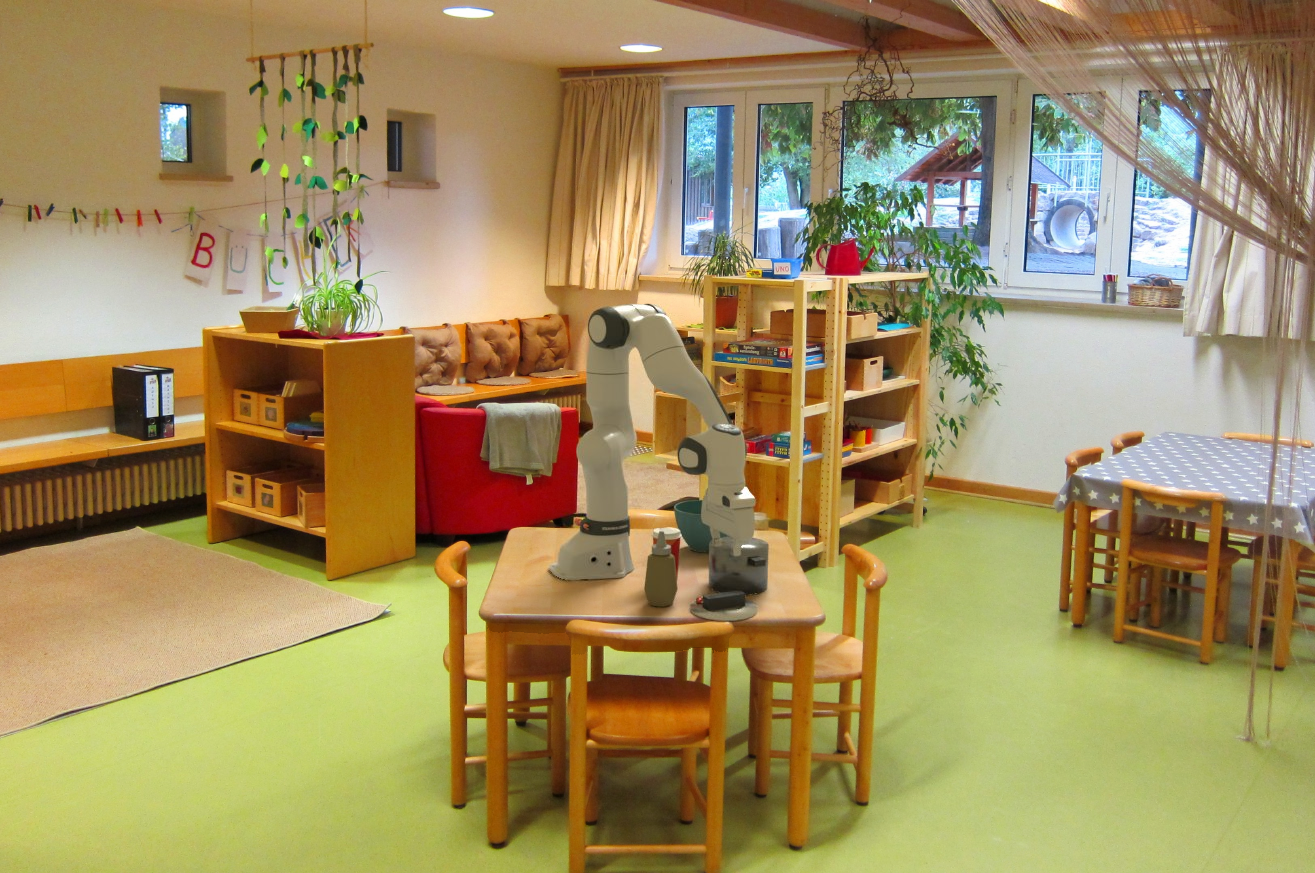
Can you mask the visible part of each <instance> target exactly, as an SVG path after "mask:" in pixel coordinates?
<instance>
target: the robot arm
mask: <svg viewBox="0 0 1315 873" xmlns="http://www.w3.org/2000/svg"><path fill="white" fill-rule="evenodd" d="M587 333H588V335H589V343H588V347H587V354H586V370H585V371H586V374H585V376H586V381H585V382H586V383H585V384H586V390H585V391H586V392H585V393H586V400H585V401H586V403H587V406H589V408H590V409H589V410H590V413H591V418H592V424H593V425H592V429H590V430H588V431H586V432H585V433H584V434H583V436H582V437H581V438H580V440H579V441H578V443H577V444H576V457H577V460H578V462H579V463H580V465H581V468H582V472H583V477H584V483H585V491H586V493H585V494H586V495H585V496H586V515H585V516H584V518H583V519H581V518H580V517H578V516H576V517H574V518H573V523H574V525H576V526H578V527H579V531H578V532H577V533H575V534H574V535H573V536H572V537H571V538H569V539H568V540H567V541H566V542H564V543H563V544H562V545H561V546H560V548H559V551H558V556H557V561H556V562H553V563H552V562H551V563H550V564H549V568H548V570H550V571H551V572H552V573H553V574H554V575H555V576H554V575H553V574H552V573H551V572H550V571H549V572H550V573H551V574H552V575H553V576H554V577H556V576H557V577H556V578H558V577H559V578H558V579H560V578H561V580H563V579H565V580H564V581H568V580H571V581H581V580H580V579H588V580H601V579H602V580H604V579H616V578H618V579H620V578H623V577H625V576H626V575H627V574H628V573H630V572H631V571H633V570H634V569H635V566H634V562H633V559H632V558H633V557H632V555H631V554H632V553H631V548H630V538H629V537H630V534H631V533H630V532H631V523H630V522H631V520H630V519H631V518H630V516H629V487H628V485H627V483H626V481H625V480H626V479H625V475H624V471H623V461H624V460H625V459H627V458H629V457H630V456H631V455H632V453H633V452H634V450H635V448H636V446H637V442H638V435H637V433H636V429H635V428H634V425H633V424H634V423H633V418H632V413H631V408H630V407H631V406H630V369H629V368H630V367H629V366H630V362H629V361H630V360H629V358H630V357H629V356H630V353H631V351H632V350H633V349H637V351H638V353H639V357H640V360H641V362H642V365H643V368H644V370H645V373H646V376H647V378H648V379H649V381H650V382H651V384H652V385H653V386H654V387H655V388H656V389H658V390H659V391H662V392H664V393H666V394H669V395H675V396H677V397H681V398H683V399H685V400H687V401H689V402H691V403H692V404H693V405H694V406H695V407H696V409H698V412H699V413H700V415H701V417H702V419H703V420H704V424H705V425H706V427H707V429H706V430H704V431H703V432H699V433H697V434H696V433H695V434H694V435H690V436H687V437H684V438H683V439H682V440H681V441H680V443H679V445H678V447H677V451H676V452H677V462H678V464H679V466H680V469H682V470H683V471H684V473H686V474H687V475H691V476H701V475H702V476H703V475H706V476H707V488H706V489H705V491H704V492H705V493H704V495H703V497H702V499H701V500H702V510H701V519H702V522H703V523H704V524H706V525H708V526H710V532H711V535H712V538H713V545H714V546H721V545H722V539H721V538H720V533H719V531H720V532H722V533H724V534H726V535H728V536H730V537H732V538H733V542H734V546H733V547H732V548H731V551H732V552H731V554H732V555H734V556H740V555H741V547H742V545H743V543H744V541H746V540H751V539H752V538H754V535H755V510H754V508H753V507H755V506H756V505H757V504H756V503H757V502H756V501H757V500H756V498H755V496H754V495H753V494H752V493H751V492H750V491H749V489H748V487H747V486H746V478H745V474H744V473H745V467H746V458H747V454H748V446H747V442H746V439H745V437H744V433H743V431H742V429H741V428H740V427H739V426H737V425H735V424H734V423H733V421H732V419H731V417H730V416H729V414H728V412H727V411H726V408H725V406H724V405H723V403H722V401H721V399H720V397H719V395H718V393H717V392H716V390H715V388H714V386H713V384H712V383H711V381H710V380H709V379H708V376H706V374H704V372H702V371H700V370H699V369H698V367H697V366H696V365H695V364H694V362H693V360H692V359H691V357H690V355H689V354H688V352H687V349H686V346H685V344H684V342H683V339H682V338H681V336H680V333H679V332H678V330H677V328H676V326H675V325H674V323H673V322H672V320H671V318H670V317H669V316H668V315H667V313H666V312H665V310H664V309H663V308H662V307H660V306H659V305H656V304H652V303H644V304H643V303H642V304H641V303H640V304H639V303H626V304H620V305H613V306H604V307H600V308H597V309H596V310H594V311H593V312H592V313H591V314H590V316H589V319H588V323H587Z"/></svg>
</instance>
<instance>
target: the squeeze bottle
mask: <svg viewBox="0 0 1315 873" xmlns="http://www.w3.org/2000/svg"><path fill="white" fill-rule="evenodd" d="M670 553H671V546H670V545H667V544H666V539H665V534H664V531H659V535H658V539H657V543H656V544H655V545H652V546H651V553H650V554H648V556H647V561H646V568H645V569H646V570H645V578H644V579H645V580H644V588H643V590H644V592H645V595H646V599H647V601H648V604H649V605H650V606H653V607H668V606H669V607H670V606H671V605H673V603H674V601H675V598H676V595H677V591H678V578H677V577H676V566H675V557H674V556H673V555H672V554H670Z"/></svg>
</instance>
